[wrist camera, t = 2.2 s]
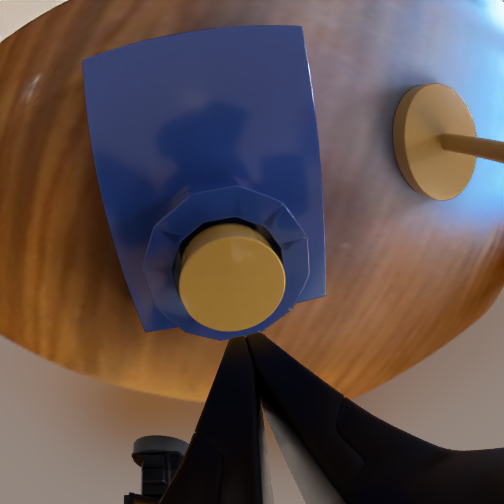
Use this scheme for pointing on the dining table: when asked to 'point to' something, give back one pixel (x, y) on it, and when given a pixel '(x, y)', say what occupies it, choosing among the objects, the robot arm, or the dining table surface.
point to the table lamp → (438, 141)
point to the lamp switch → (230, 278)
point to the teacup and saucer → (22, 13)
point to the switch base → (207, 158)
